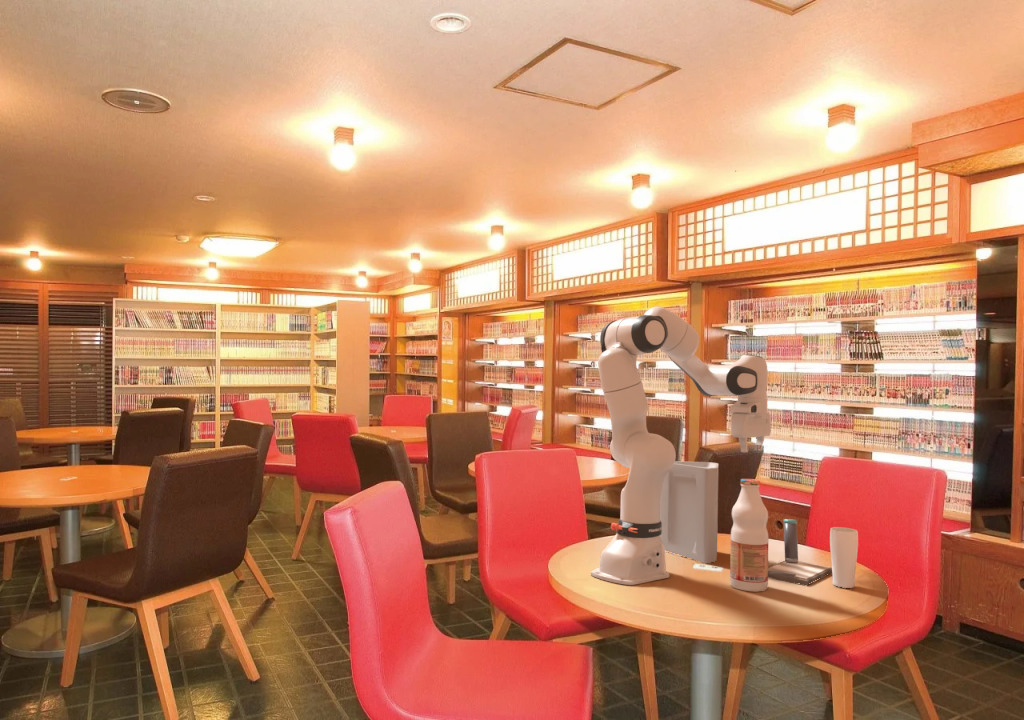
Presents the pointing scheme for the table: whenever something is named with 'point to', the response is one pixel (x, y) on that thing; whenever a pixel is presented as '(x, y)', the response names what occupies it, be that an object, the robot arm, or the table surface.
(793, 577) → the dark grey notebook
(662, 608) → the table surface
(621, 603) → the table surface
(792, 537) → the marker
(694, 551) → the gray plastic bin
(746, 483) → the fruit juice
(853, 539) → the drinking glass
